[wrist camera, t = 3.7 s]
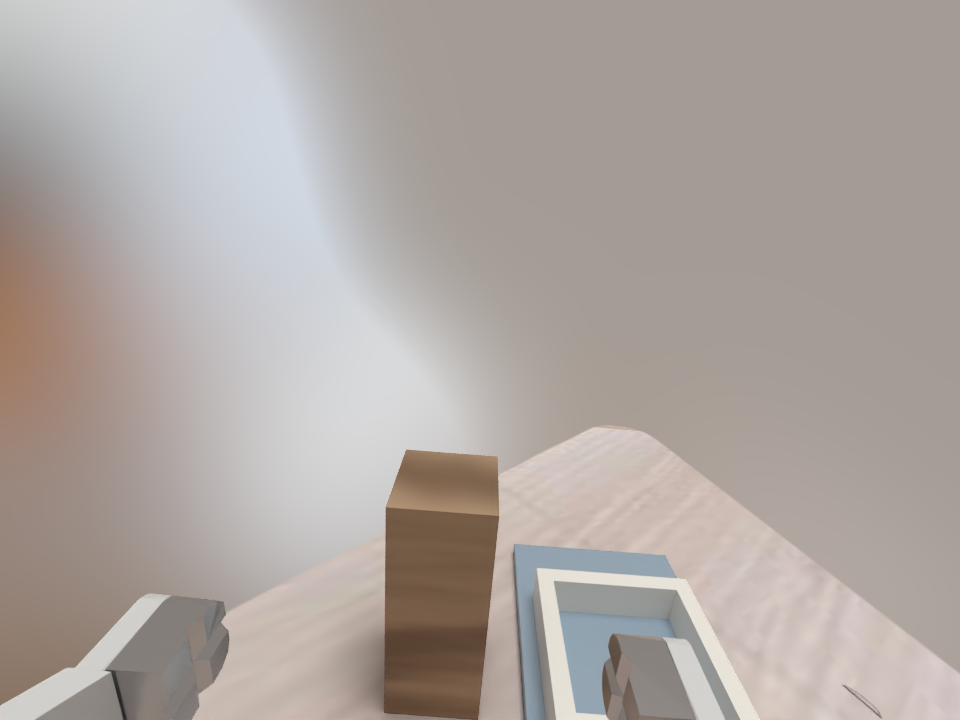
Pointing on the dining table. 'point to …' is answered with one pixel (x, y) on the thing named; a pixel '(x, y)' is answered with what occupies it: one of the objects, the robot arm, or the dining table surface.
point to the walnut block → (439, 582)
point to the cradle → (604, 627)
